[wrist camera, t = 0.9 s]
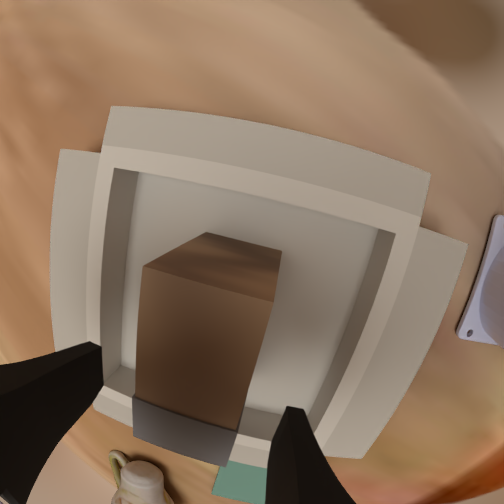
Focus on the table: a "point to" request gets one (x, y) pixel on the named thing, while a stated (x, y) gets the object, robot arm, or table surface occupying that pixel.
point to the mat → (241, 482)
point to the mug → (137, 482)
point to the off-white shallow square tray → (265, 234)
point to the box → (200, 343)
